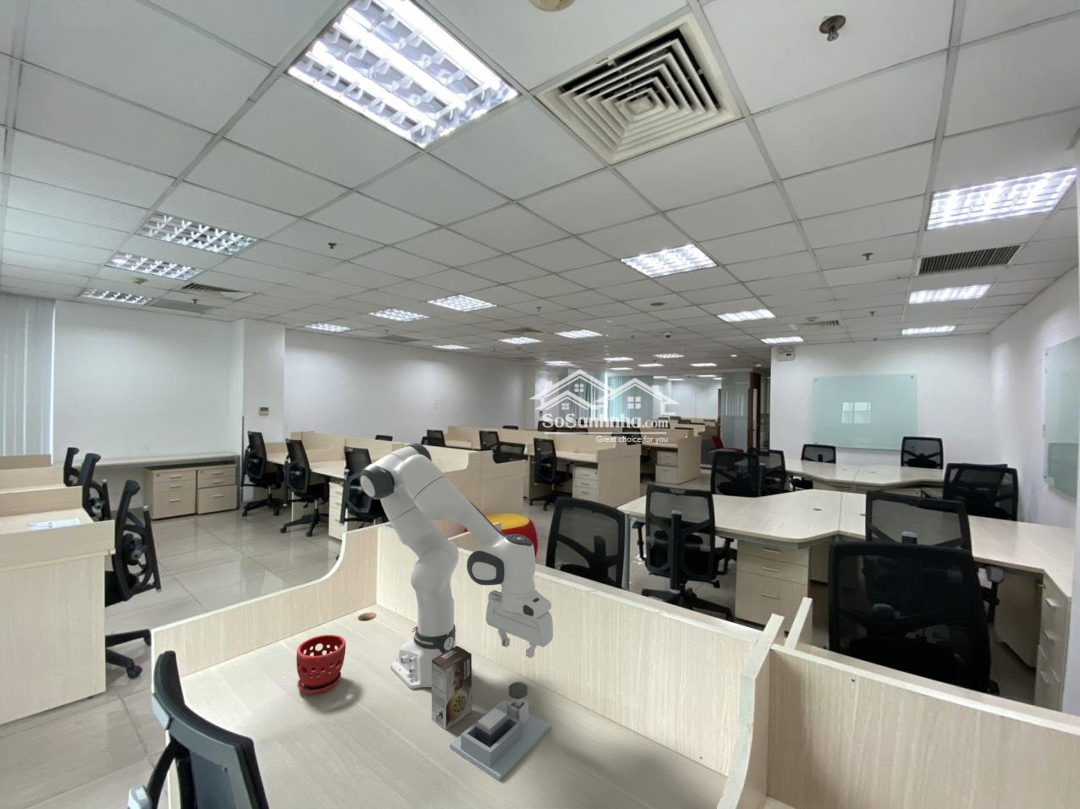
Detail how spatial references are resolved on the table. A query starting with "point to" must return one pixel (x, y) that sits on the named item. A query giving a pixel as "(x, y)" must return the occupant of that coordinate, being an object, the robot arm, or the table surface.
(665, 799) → the table surface
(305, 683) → the plant pot
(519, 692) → the dark grey round knob
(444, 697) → the coffee box
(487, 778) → the table surface
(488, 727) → the grey rectangular block
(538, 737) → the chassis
